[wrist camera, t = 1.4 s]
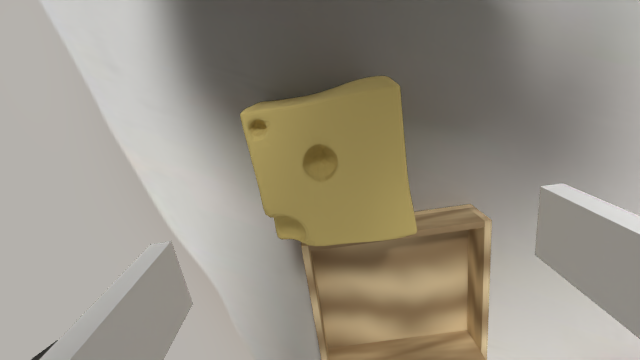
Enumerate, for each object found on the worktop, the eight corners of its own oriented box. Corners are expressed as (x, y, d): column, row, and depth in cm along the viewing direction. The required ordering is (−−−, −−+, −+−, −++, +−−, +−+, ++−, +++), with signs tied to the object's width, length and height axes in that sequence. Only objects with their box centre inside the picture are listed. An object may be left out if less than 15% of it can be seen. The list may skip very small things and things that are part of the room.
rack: (302, 227, 31) (300, 252, 27) (470, 203, 31) (498, 225, 26) (329, 381, 38) (331, 423, 33) (468, 363, 37) (490, 402, 33)
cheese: (282, 206, 31) (269, 263, 21) (258, 95, 27) (230, 103, 18) (387, 189, 30) (421, 238, 21) (375, 74, 27) (409, 71, 18)
